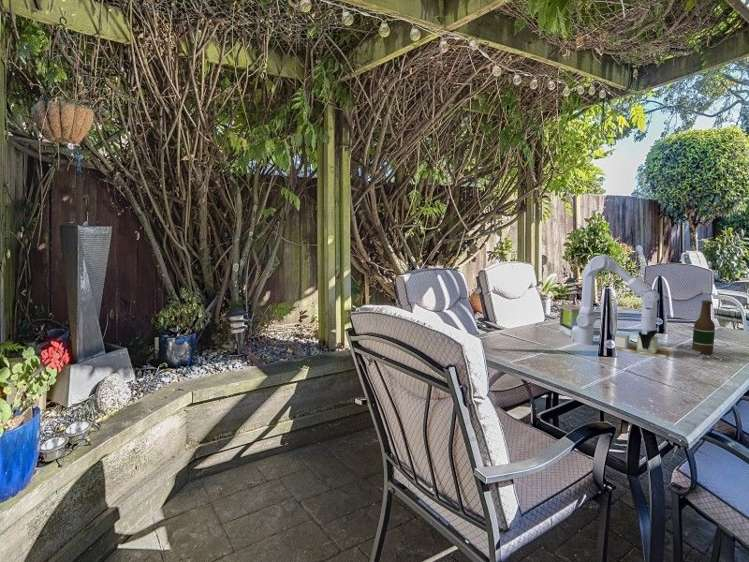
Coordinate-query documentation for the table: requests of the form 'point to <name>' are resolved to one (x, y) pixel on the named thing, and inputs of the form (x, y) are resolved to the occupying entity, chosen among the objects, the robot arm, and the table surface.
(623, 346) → the slate carton
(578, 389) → the table surface
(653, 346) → the sage carton
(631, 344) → the display board
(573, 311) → the tea box
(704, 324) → the beer bottle
